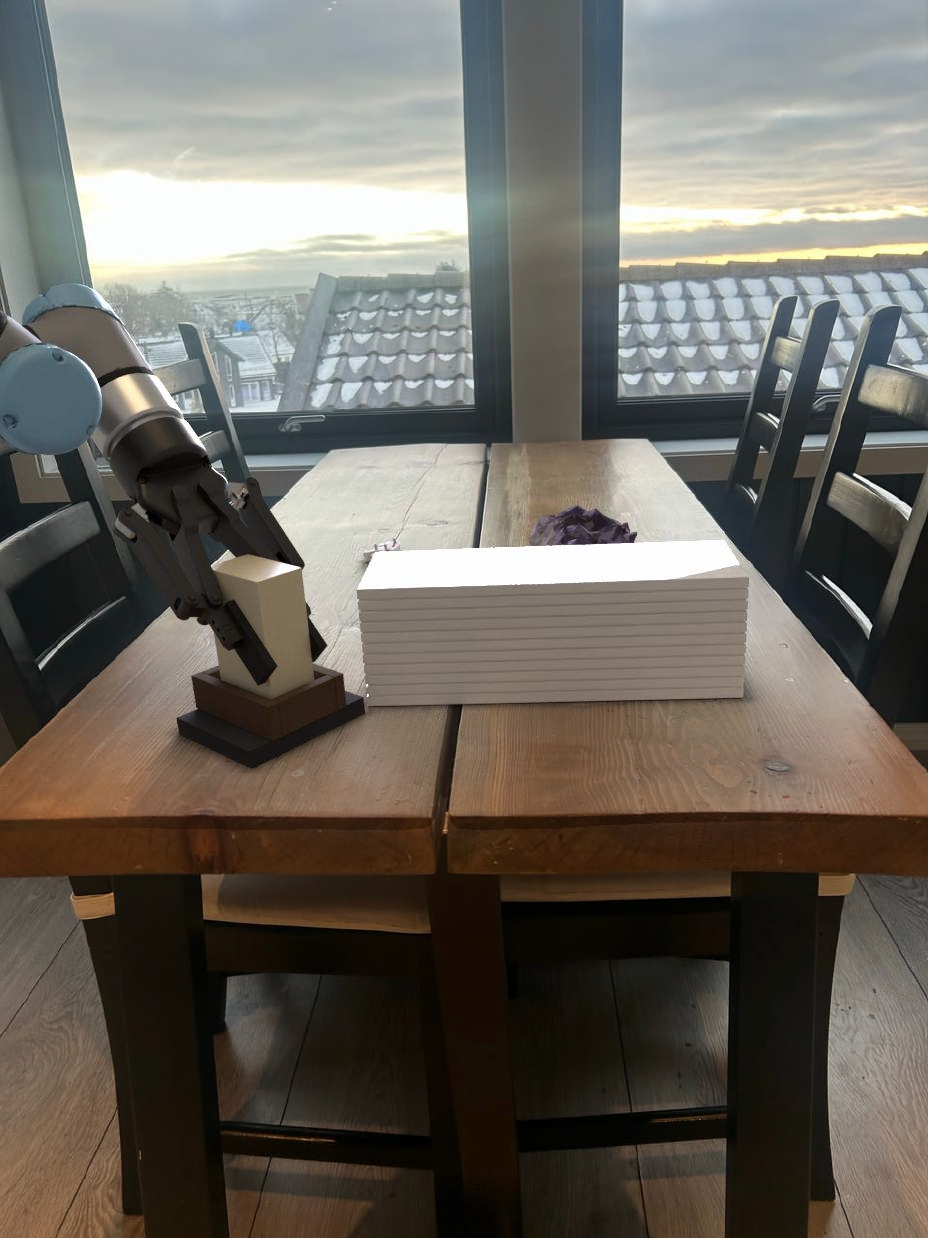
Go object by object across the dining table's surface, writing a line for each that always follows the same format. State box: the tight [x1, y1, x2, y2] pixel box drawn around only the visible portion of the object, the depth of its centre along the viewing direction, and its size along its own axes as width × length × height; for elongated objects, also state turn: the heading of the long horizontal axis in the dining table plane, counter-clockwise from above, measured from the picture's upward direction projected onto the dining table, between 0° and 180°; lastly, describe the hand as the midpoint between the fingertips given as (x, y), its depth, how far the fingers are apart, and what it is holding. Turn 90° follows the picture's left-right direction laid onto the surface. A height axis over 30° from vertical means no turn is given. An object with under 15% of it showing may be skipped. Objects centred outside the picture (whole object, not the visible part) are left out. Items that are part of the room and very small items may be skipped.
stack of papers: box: [356, 539, 750, 707], centre depth 89 cm, size 32×11×11 cm, turn 87°
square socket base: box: [176, 663, 366, 769], centre depth 84 cm, size 12×10×4 cm
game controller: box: [362, 537, 423, 562], centre depth 127 cm, size 6×12×3 cm, turn 101°
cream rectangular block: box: [210, 554, 314, 700], centre depth 82 cm, size 4×7×11 cm, turn 48°
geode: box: [528, 505, 638, 547], centre depth 110 cm, size 20×12×10 cm, turn 9°
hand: (292, 664), depth 80 cm, fingers closed on cream rectangular block, 4 cm apart
